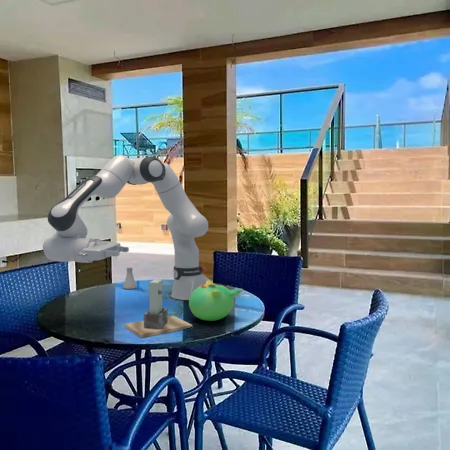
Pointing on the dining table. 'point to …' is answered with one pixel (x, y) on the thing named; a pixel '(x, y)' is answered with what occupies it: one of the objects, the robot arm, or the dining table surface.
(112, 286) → the dining table surface
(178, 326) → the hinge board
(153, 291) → the tall grey rectangular block
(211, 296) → the toy bird
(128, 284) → the flask
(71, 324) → the dining table surface
